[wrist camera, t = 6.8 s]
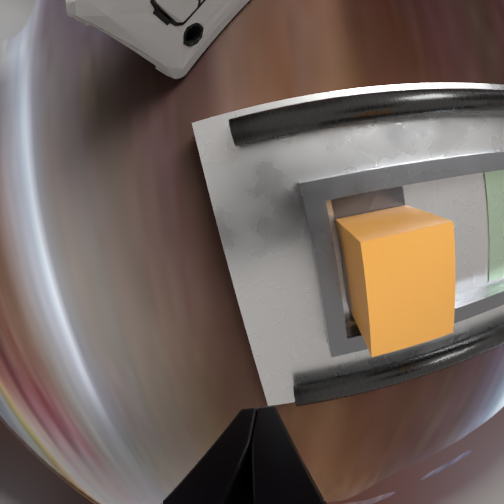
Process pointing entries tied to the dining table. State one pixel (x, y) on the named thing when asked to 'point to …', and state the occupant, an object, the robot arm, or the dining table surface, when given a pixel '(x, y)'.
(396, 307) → the orange cube block
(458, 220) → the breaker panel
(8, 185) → the dining table surface
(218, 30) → the electrical switch
